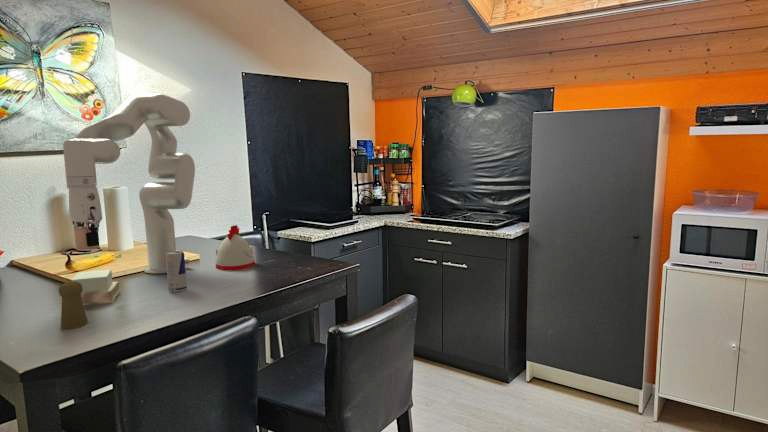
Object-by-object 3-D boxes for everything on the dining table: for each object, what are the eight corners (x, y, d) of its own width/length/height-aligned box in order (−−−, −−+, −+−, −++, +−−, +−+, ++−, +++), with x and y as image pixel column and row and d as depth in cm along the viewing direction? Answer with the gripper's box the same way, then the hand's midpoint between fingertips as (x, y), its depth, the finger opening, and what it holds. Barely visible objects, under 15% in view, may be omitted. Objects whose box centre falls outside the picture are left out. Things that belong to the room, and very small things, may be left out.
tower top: (112, 282, 160) (111, 269, 160) (108, 289, 152) (106, 276, 151) (79, 285, 157) (77, 272, 157) (72, 293, 149) (71, 280, 148)
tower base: (119, 293, 162) (118, 281, 161) (112, 304, 151) (110, 291, 151) (79, 297, 159) (78, 284, 158) (69, 308, 148) (67, 295, 148)
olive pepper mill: (68, 321, 136) (63, 280, 134) (92, 320, 136) (88, 279, 135) (55, 329, 130) (50, 286, 128) (81, 328, 130) (76, 285, 129)
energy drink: (190, 288, 164) (187, 250, 163) (178, 293, 159) (175, 254, 158) (176, 287, 166) (173, 250, 164) (164, 291, 161) (161, 253, 159)
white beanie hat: (260, 261, 199) (258, 223, 197) (245, 271, 186) (242, 229, 183) (226, 261, 201) (223, 222, 199) (208, 270, 188) (205, 229, 186)
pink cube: (101, 245, 156) (99, 225, 155) (96, 249, 150) (94, 228, 149) (79, 246, 154) (77, 226, 154) (73, 250, 149) (71, 229, 148)
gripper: (110, 182, 148) (115, 245, 150) (81, 181, 158) (86, 240, 160) (82, 184, 142) (88, 249, 144) (54, 182, 152) (60, 244, 154)
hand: (87, 244), depth 152 cm, fingers closed on pink cube, 6 cm apart
